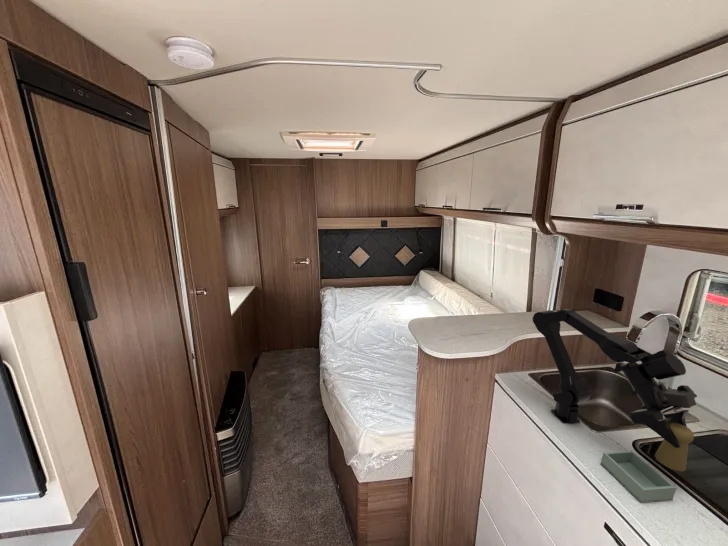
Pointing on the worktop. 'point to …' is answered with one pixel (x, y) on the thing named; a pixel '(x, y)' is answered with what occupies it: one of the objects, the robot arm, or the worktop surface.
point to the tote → (638, 476)
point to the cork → (672, 455)
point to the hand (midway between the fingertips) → (683, 444)
